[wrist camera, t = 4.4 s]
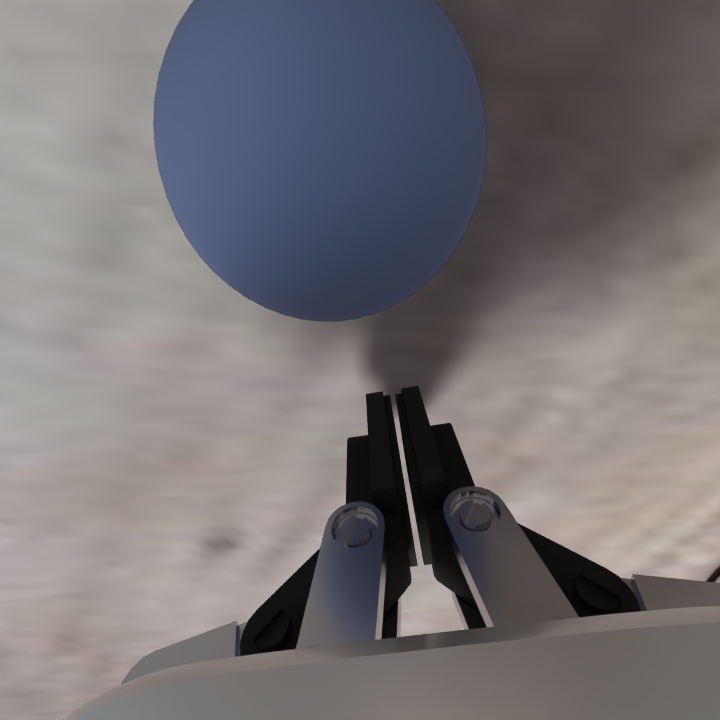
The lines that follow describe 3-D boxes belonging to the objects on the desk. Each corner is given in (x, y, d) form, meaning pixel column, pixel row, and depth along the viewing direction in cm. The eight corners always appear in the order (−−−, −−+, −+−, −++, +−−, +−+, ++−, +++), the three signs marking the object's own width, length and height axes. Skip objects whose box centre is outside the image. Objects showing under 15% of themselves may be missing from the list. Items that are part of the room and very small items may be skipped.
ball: (585, 287, 5) (471, 253, 11) (488, -379, 3) (411, 6, 9) (199, 412, 6) (282, 320, 12) (-64, -58, 4) (189, 107, 10)
